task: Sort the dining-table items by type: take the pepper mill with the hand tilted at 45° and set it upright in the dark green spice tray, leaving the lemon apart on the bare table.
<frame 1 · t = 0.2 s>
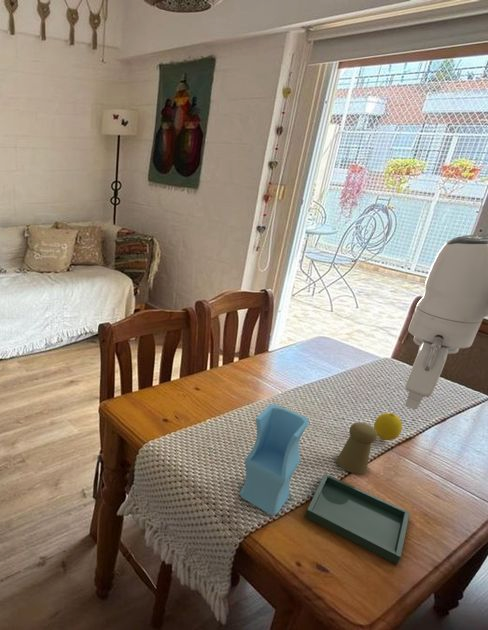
hand: (414, 396, 81), 27 cm above the table, tool pointing down, fingers open, 8 cm apart
blue toy chair: (263, 496, 93), on the table
spice tray: (355, 518, 89), on the table
lemon: (382, 440, 112), on the table
pepper mill: (351, 465, 103), on the table
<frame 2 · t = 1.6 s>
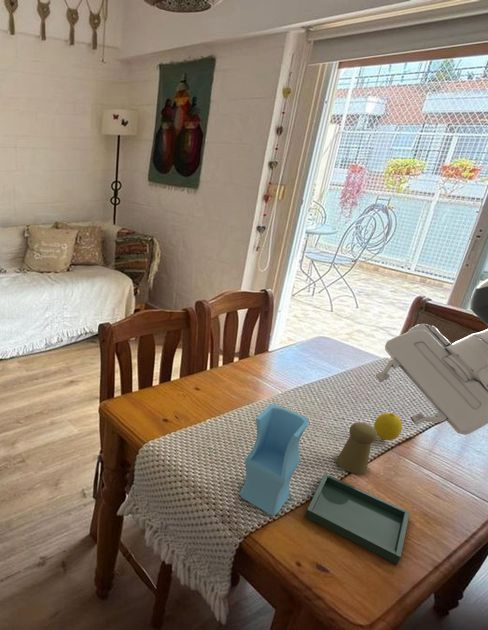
hand: (395, 399, 85), 24 cm above the table, tool tilted 50°, fingers open, 8 cm apart
nothing on the table moved.
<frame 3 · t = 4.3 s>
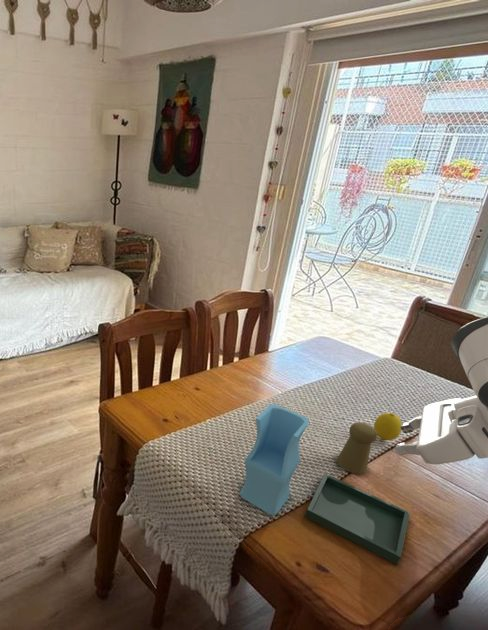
hand: (399, 439, 93), 12 cm above the table, tool tilted 45°, fingers open, 8 cm apart
nothing on the table moved.
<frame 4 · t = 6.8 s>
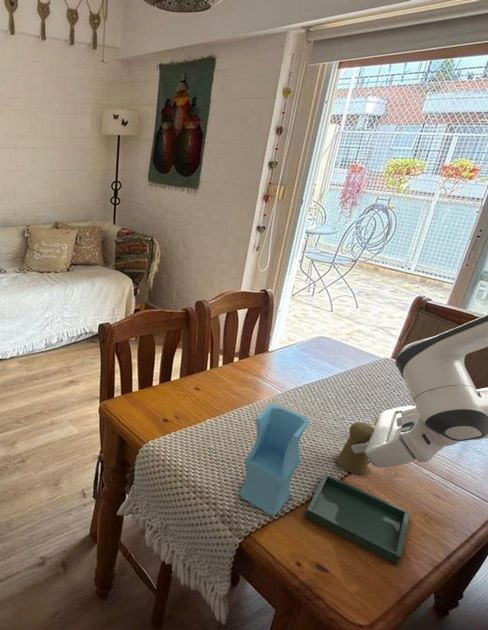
hand: (355, 443, 101), 6 cm above the table, tool tilted 45°, fingers closed on pepper mill, 4 cm apart
pepper mill: (351, 465, 103), on the table, touching gripper
everything else where it was.
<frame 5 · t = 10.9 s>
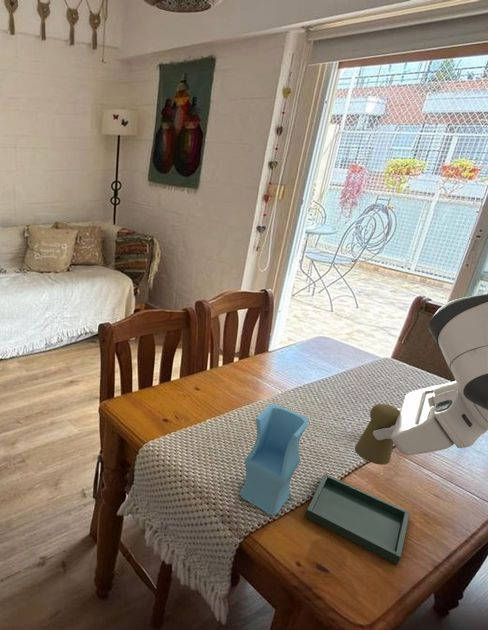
hand: (377, 428, 86), 18 cm above the table, tool tilted 45°, fingers closed on pepper mill, 4 cm apart
pepper mill: (371, 454, 88), point 12 cm above the table, touching gripper
everything else where it was.
when the fingers open (6 cm above the table, at t = 15.2 s): pepper mill stays where it is, resting on spice tray.
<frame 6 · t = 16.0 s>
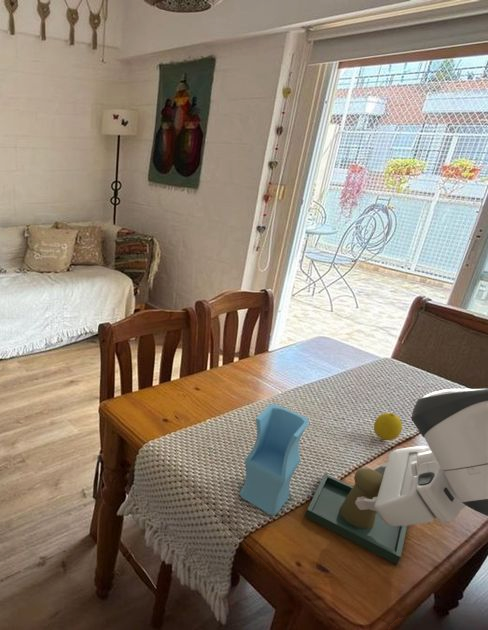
hand: (362, 489, 86), 7 cm above the table, tool tilted 45°, fingers open, 8 cm apart
pepper mill: (356, 517, 88), resting on spice tray
everything else where it was.
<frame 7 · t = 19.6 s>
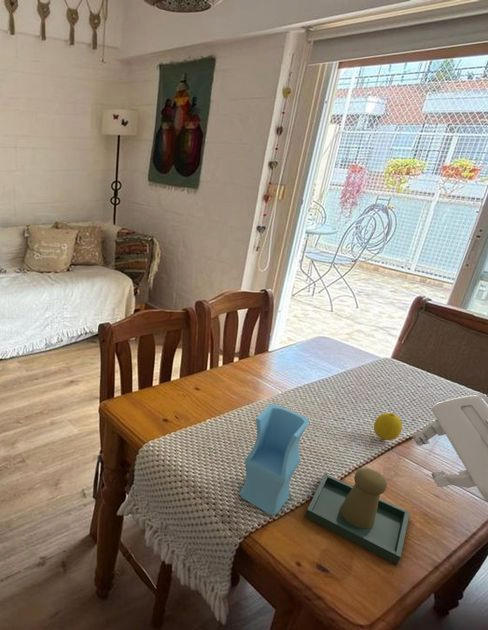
hand: (423, 459, 75), 21 cm above the table, tool tilted 50°, fingers open, 8 cm apart
nothing on the table moved.
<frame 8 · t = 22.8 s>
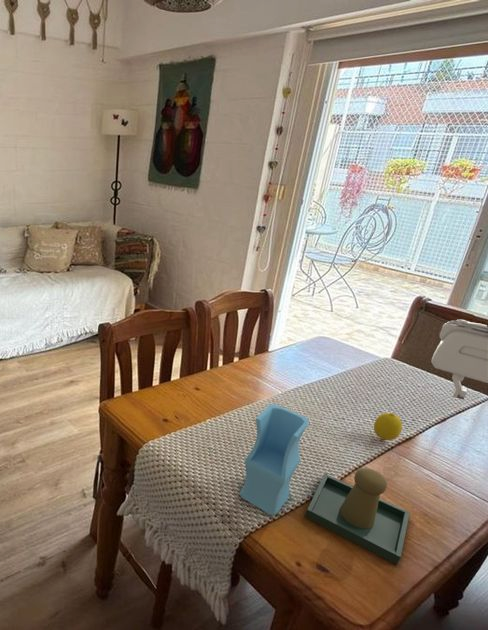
nothing on the table moved.
at the end: pepper mill inside the target area in the spice tray (0.0 cm from its centre), point 0.3 cm above the spice tray's base; pepper mill tilted 0°; lemon moved 0.2 cm from its start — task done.
